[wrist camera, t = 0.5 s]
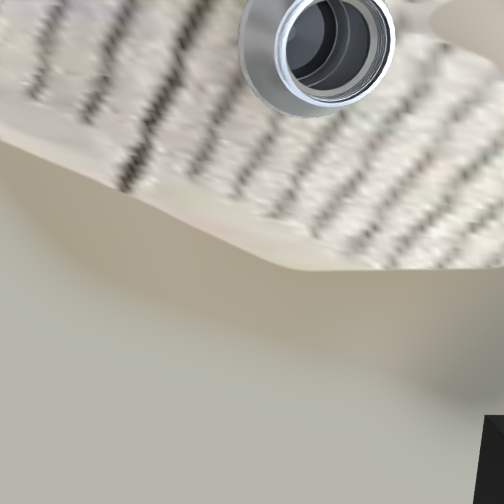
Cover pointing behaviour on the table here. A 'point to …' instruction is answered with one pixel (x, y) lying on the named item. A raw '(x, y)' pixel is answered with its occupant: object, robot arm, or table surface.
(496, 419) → the robot arm
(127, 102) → the table surface
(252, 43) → the silver metal bottle
